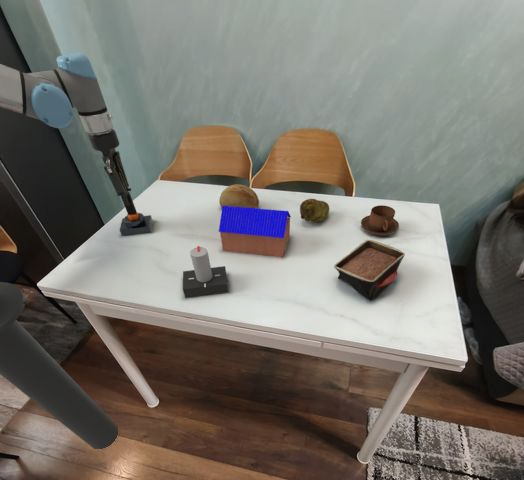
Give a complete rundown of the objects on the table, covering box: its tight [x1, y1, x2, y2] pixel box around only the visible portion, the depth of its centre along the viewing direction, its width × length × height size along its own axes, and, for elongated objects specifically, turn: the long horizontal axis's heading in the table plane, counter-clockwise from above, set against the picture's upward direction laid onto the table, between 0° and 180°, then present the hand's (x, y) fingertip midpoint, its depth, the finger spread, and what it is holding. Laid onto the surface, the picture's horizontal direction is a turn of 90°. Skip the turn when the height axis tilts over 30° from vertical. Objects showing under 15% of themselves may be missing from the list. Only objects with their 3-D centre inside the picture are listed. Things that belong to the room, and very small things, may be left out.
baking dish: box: [333, 239, 406, 302], centre depth 82 cm, size 14×18×10 cm
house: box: [218, 206, 292, 258], centre depth 94 cm, size 12×20×12 cm, turn 76°
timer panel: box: [182, 265, 230, 299], centre depth 85 cm, size 12×9×3 cm
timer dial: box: [189, 245, 212, 282], centre depth 81 cm, size 4×4×8 cm
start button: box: [126, 211, 139, 221], centre depth 104 cm, size 4×4×2 cm
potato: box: [299, 198, 330, 223], centre depth 103 cm, size 8×13×8 cm, turn 118°
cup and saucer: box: [360, 204, 400, 236], centre depth 99 cm, size 12×12×6 cm
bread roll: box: [218, 183, 260, 208], centre depth 111 cm, size 10×15×8 cm, turn 81°
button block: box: [119, 212, 154, 237], centre depth 106 cm, size 10×8×4 cm
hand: (132, 213), depth 104 cm, fingers closed
